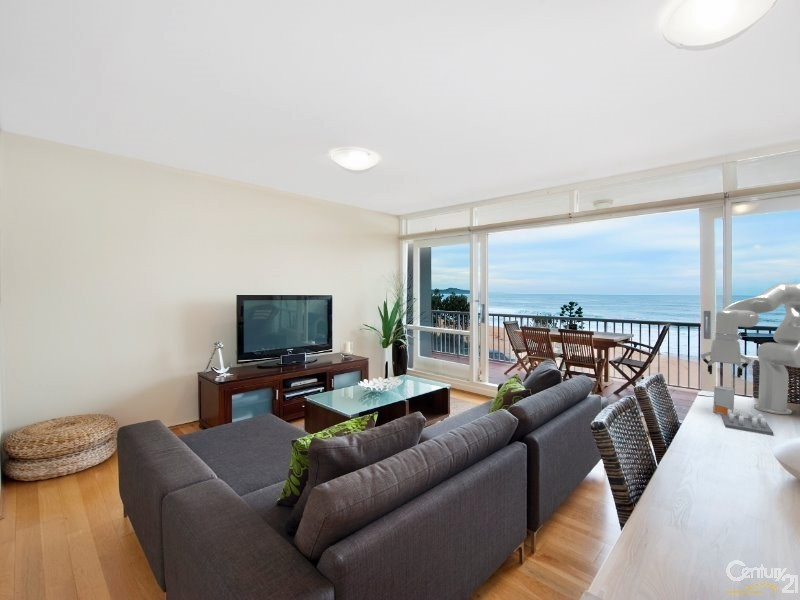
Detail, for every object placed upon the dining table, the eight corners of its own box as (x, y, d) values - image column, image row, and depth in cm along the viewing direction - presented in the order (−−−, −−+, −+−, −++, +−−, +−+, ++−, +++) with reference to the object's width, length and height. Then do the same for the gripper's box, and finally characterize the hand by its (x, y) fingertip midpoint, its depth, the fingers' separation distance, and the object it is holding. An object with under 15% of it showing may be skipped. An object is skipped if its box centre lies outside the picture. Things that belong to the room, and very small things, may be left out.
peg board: (721, 416, 166) (721, 405, 166) (765, 423, 158) (765, 412, 158) (725, 427, 153) (726, 415, 153) (773, 435, 145) (773, 423, 145)
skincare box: (712, 412, 171) (713, 386, 171) (717, 411, 173) (718, 385, 173) (728, 416, 166) (729, 389, 165) (733, 415, 168) (735, 388, 167)
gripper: (750, 338, 166) (748, 376, 167) (701, 335, 176) (699, 371, 177) (753, 340, 160) (751, 380, 161) (702, 336, 170) (700, 374, 171)
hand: (724, 375), depth 169 cm, fingers open, 9 cm apart
